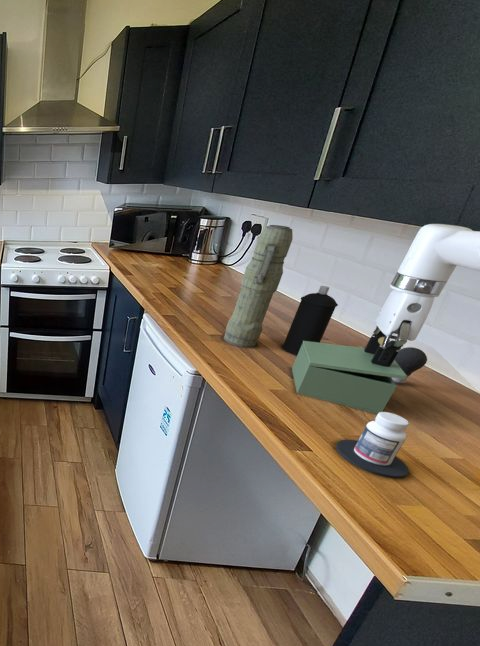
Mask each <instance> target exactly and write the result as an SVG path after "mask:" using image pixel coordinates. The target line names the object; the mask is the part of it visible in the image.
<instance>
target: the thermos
mask: <svg viewBox="0 0 480 646" xmlns="http://www.w3.org/2000/svg"><path fill="white" fill-rule="evenodd" d="M293 237H294V235H293V229H292V228H290V226H287V225H279V224H269V225H266V226H265V227H264V228H263V230H262V231H261V233H260V234H259V236H258V239H257V242H256V245H255V248H254V251H253V256H252V257H251V260H250V261H249V262H248V264H247V265H246V267H245V271H244V272H243V273H244V274H243V276H242V279H241V282H240V286H241V288H240V291H239V294H238V297H237V300H236V303H235V306H234V310H233V312H232V315H231V317H230V318H229V319H228V321H227V323H226V327H225V330H224V332H225V334H224V335H223V340H224V341H225V342H226V343H228V344H230V345H233V346H236V347H240V348H248V349H249V348H250V349H251V348H255V347H256V346H257V342H258V340H259V339H260V337H261V334H262V331H263V322H264V321H265V320H264V319H265V317H266V314H267V312H268V309H269V306H270V303H271V301H272V298H273V295H274V294H275V293H276V292H277V291H278V288H279V285H280V282H281V280H282V276H283V274H284V264H285V259H286V258H287V255H288V253H289V250H290V247H291V244H292V242H293Z"/></svg>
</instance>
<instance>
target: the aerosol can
mask: <svg viewBox="0 0 480 646" xmlns="http://www.w3.org/2000/svg"><path fill="white" fill-rule="evenodd" d="M329 290H330V287H329V286H326V285H320V286H319V289H318V291H317V292H312V293H308V294H305V295H303V296H301V297H300V302H299V305H298V307H297V309H296V311H295V315H294V317H293V319H292V322H291V324H290V326H289V330H288V331H287V335H286V337H285V339H284V341H283V344H282V345H281V350H283V351H285V352H287V353H289V354H292V355H294V356H297V355H298V353H299V350H300V348H301V345H302V344H303V341H310V342H318V343H321V341H322V339H323V337H324V334H325V332H326V330H327V328H328V325H329V323H330V322H331V319H332V317H333V314H334V312H335V309H336V308H337V307H338V306H339V304H338V303H337V301H336V300H335V298H333V296H331V295H329V294H328V292H329Z"/></svg>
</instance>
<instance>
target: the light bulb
mask: <svg viewBox="0 0 480 646" xmlns="http://www.w3.org/2000/svg"><path fill="white" fill-rule="evenodd" d="M394 360H395V361H396V362H397V364H398V365H399V366H400V367H401V369H402V370H403V371H404V373H405V374H406V375H407V377H406V379H400V378H393V377H391V378H392V380H393V381H394V383H395V384H396V385H399V384H405V383H406V381H407V380H408V378H409V377H410V376H411V375H412V374H413V373H415V372H416V371H418V370H420V369H422V368H423V367H424V366H425V365H426V364H427V362H428V356H427V354H426V353H425V352H424V351H423V350H422V349H420V348H417V347H411V346H409V347H402V348H401V349H400V351H399V352H398V354H397V356H396V357H395V359H394Z"/></svg>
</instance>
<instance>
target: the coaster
mask: <svg viewBox="0 0 480 646" xmlns="http://www.w3.org/2000/svg"><path fill="white" fill-rule="evenodd" d="M357 442H358V440H356V439H355V440H354V439H342V440H339V441H338V442H337V443H336V445H335V449H336V451H337V453H338V454H339V455H340V456H341V457H342V458H343V459H344V460H345V461H347V462H348V463H350V464H351V465H353V466H355V467H357V468H359V469H361V470H363V471H364V472H365V471H366V472H368V473H370V474H373V475H376V476H379V477H383V478H388V479H404V478H406V477H407V476H408V474H409V467H408V466H407V464H405V462H403V461H402V460H401V459H400V458H399V457H397V455H396V456H395V458H394V460H393V461H392V463H391V464H390V465H386V466H383V465H377V464H374V463H371V462H368V461H366V460H364V459H363V458H361V457H359V456H358V455H357V454H356V453H355V451H354V448H355V446H356V444H357Z"/></svg>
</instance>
